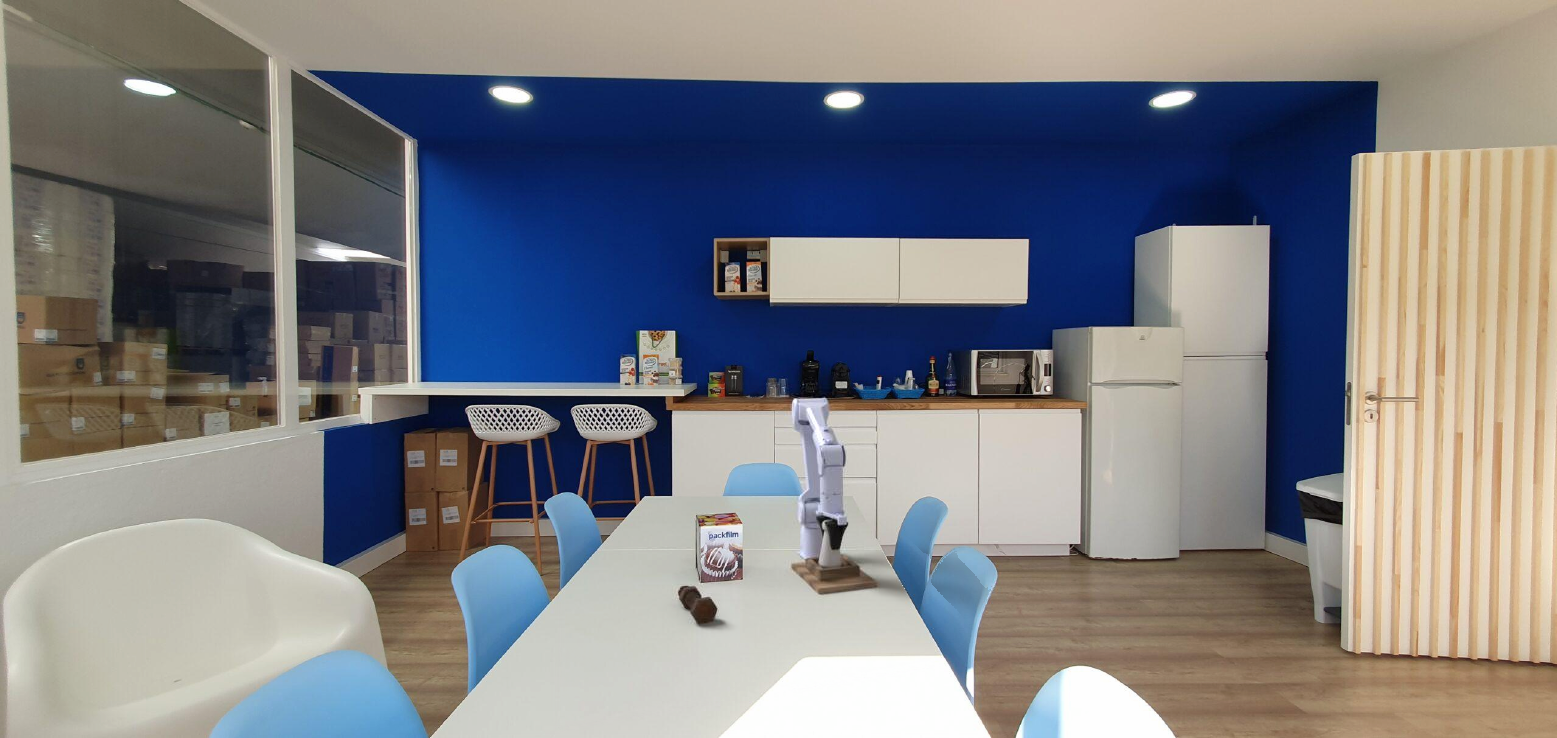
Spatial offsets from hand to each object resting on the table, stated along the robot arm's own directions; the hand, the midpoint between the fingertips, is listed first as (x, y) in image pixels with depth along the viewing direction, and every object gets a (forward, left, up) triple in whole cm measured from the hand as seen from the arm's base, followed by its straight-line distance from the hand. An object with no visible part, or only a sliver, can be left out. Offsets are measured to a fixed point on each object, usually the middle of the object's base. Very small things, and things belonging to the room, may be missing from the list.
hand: (832, 546), depth 172 cm
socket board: (0, 0, -8) cm, 8 cm away
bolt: (+11, -37, -8) cm, 39 cm away
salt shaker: (0, -1, -7) cm, 7 cm away
